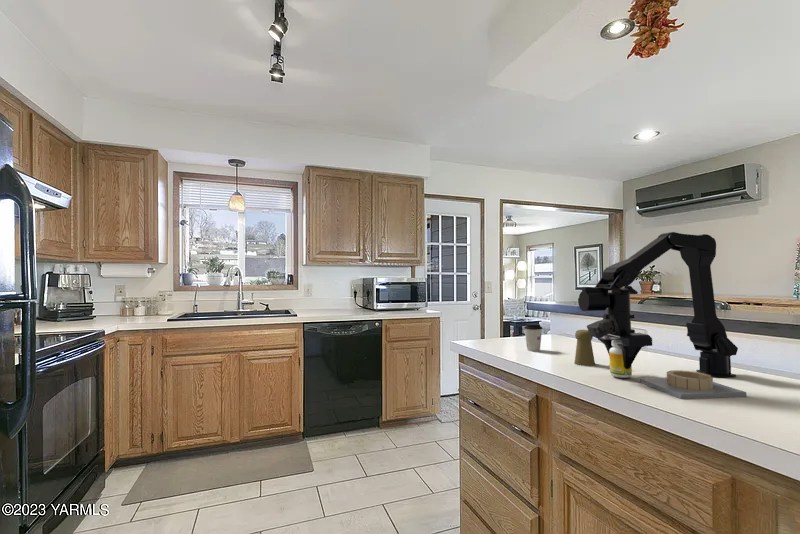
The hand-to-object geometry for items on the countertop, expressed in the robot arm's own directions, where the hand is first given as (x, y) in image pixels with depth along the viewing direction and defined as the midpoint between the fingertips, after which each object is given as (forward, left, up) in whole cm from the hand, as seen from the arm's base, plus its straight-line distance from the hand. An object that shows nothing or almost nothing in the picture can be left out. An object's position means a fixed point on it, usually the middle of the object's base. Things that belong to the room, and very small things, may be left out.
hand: (620, 366), depth 108 cm
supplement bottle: (0, 0, -3) cm, 3 cm away
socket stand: (-10, +12, -3) cm, 16 cm away
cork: (+1, -17, -3) cm, 17 cm away
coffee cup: (+8, -41, -3) cm, 42 cm away
